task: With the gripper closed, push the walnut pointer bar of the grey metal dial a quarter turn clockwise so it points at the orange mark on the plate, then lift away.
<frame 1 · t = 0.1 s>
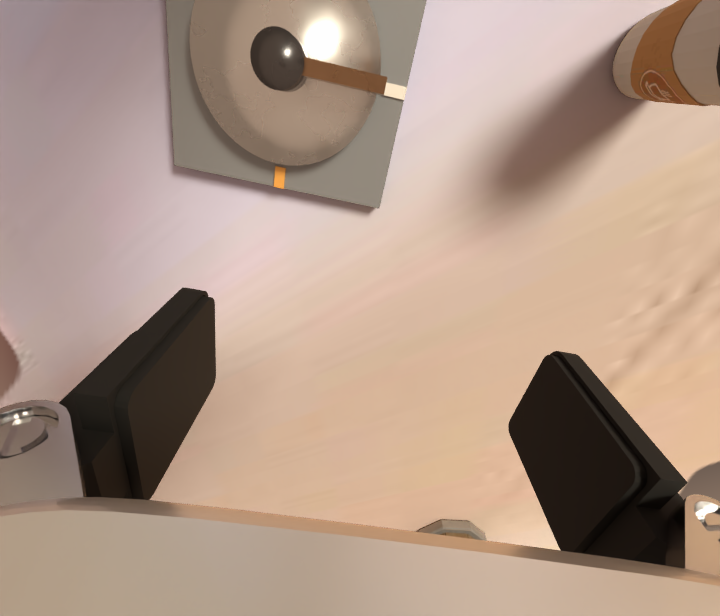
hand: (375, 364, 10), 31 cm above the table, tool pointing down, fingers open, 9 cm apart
coffee cup: (645, 57, 32), on the table
tankard: (446, 546, 72), on the table
dial plate: (292, 67, 33), on the table
dial: (286, 63, 29), point 4 cm above the table, hinge at 90.0°
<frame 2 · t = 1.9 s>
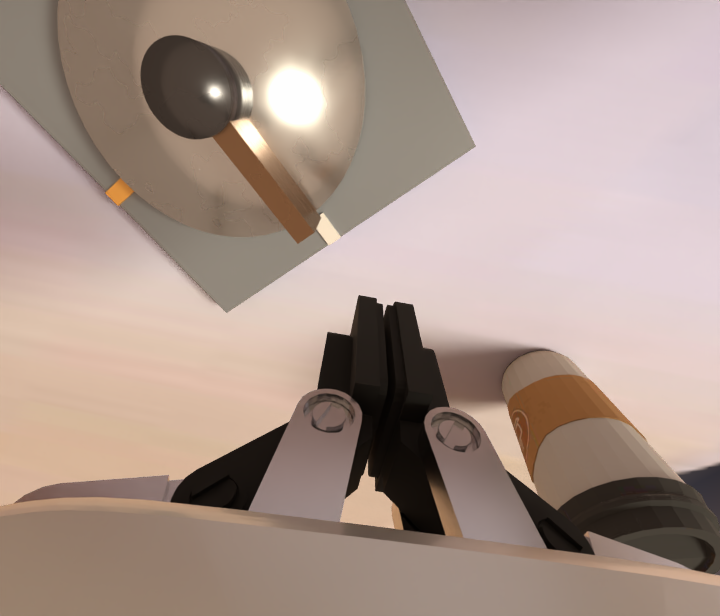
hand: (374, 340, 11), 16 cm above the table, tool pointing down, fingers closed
coffee cup: (535, 375, 32), on the table
dial plate: (234, 94, 22), on the table
dial: (210, 96, 18), point 4 cm above the table, hinge at 90.0°
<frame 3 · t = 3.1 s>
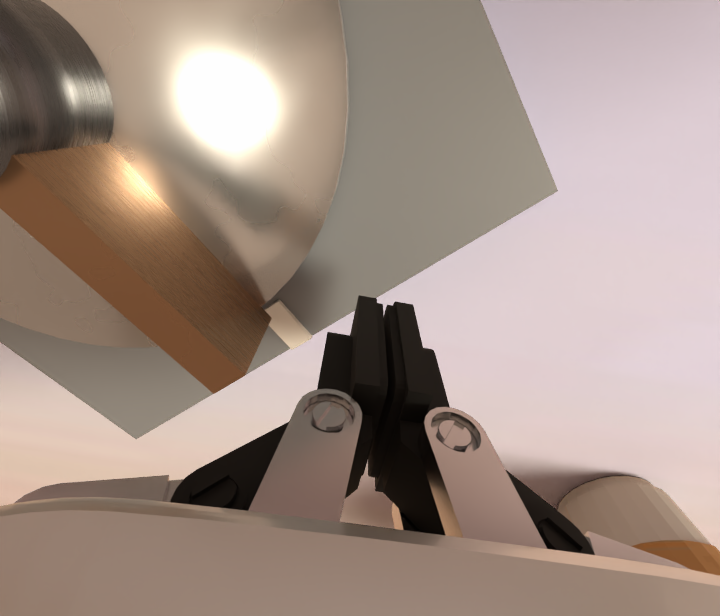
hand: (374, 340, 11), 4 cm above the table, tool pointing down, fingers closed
coffee cup: (604, 502, 22), on the table
dial plate: (107, 93, 12), on the table
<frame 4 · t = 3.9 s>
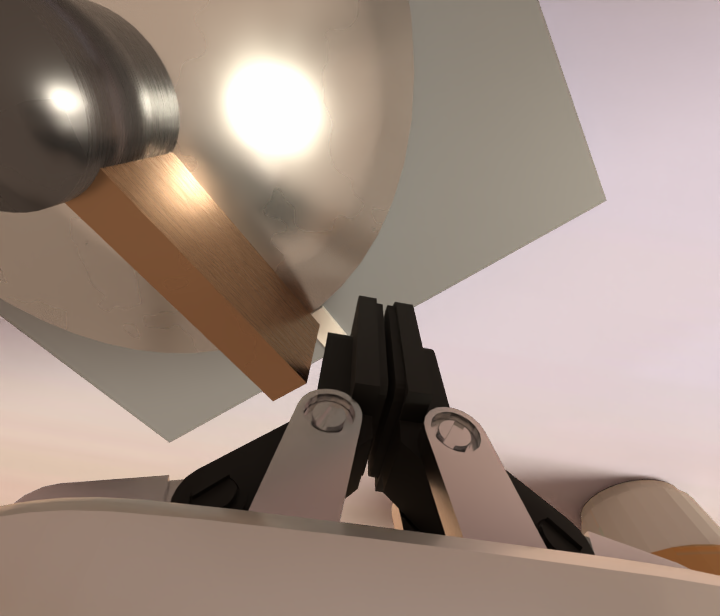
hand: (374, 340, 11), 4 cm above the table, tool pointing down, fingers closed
coffee cup: (628, 506, 22), on the table
dial plate: (159, 101, 12), on the table
dial: (76, 108, 8), point 4 cm above the table, hinge at 90.0°, touching gripper
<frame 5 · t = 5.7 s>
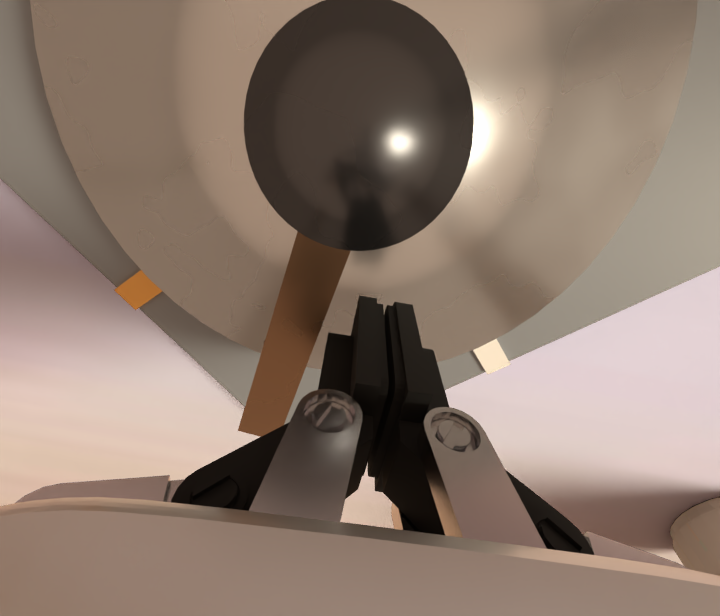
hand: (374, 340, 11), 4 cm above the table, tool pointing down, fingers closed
coffee cup: (717, 519, 23), on the table
dial plate: (361, 127, 12), on the table
dial: (356, 145, 8), point 4 cm above the table, hinge at 36.4°, touching gripper
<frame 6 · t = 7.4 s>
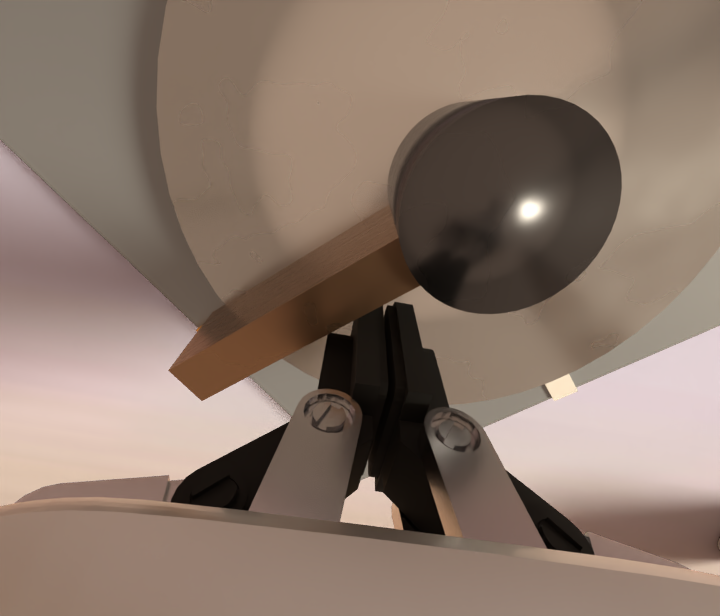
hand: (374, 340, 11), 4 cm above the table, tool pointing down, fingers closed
dial plate: (439, 170, 12), on the table
dial: (462, 200, 9), point 4 cm above the table, hinge at -2.6°, touching gripper
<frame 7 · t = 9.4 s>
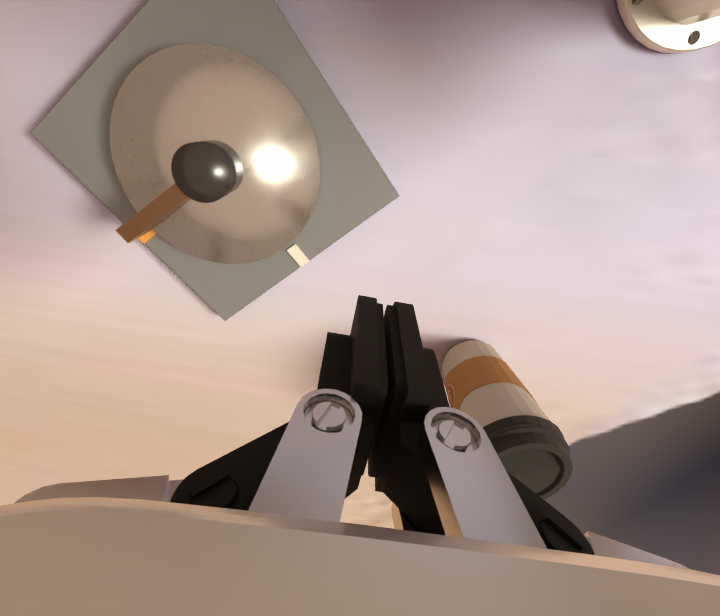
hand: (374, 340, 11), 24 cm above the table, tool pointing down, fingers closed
coffee cup: (467, 360, 41), on the table
dial plate: (229, 164, 31), on the table
dial: (210, 171, 27), point 4 cm above the table, hinge at -2.7°
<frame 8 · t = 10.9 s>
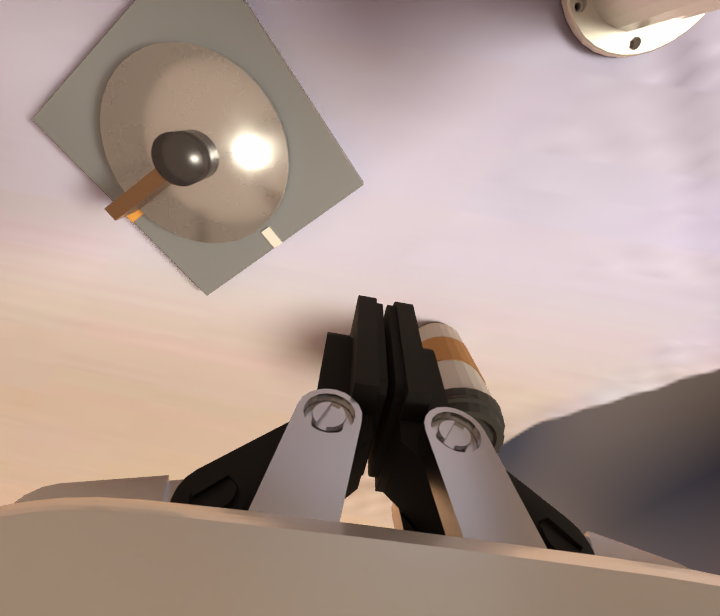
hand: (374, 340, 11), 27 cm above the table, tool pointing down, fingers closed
coffee cup: (433, 341, 44), on the table
dial plate: (209, 151, 34), on the table
dial: (188, 158, 30), point 4 cm above the table, hinge at -2.7°
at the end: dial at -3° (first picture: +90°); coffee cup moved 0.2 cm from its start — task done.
